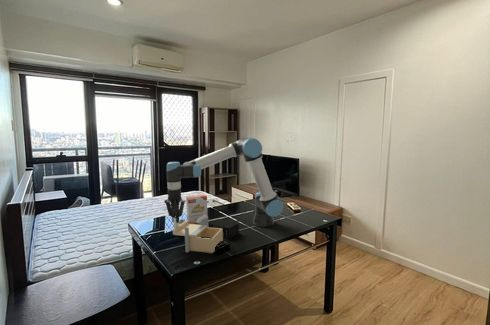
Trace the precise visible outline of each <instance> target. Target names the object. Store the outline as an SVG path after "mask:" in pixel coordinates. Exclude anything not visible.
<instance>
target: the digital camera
mask: <svg viewBox="0 0 490 325" xmlns="http://www.w3.org/2000/svg"><path fill="white" fill-rule="evenodd" d="M222 229H223V239H224V238H225V239H228V240H229V239H231V238H234V237H235V236H237V235H239V234H240V223H238V222H235V221H234V222H233V221H232V223H228V224H227V225H223V227H222Z"/></svg>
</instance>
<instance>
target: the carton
mask: <svg viewBox="0 0 490 325" xmlns="http://www.w3.org/2000/svg"><path fill="white" fill-rule="evenodd" d="M200 225H207V227H206V228H205V229H204V230H203V231H202V232H201V233H200V234H198V235H197V236H196V237H190V236H189V228H185V236H184V244H185V248H184V249H185V250H184V251H185V253H189V252H190V251H191V252H198V253H200V252H201V253H205V254H207V253H208V254H214V253H215V252H216V250H215V247H216V245H217V244H218V243H219V242H220V241H223V242H224V232H223V228H220V227H219V228H218V227H209V216H208V215H207V217H206V218H205V219H203V220H202V221H201V222H200ZM201 237H210V238H212V239H210V238H201Z"/></svg>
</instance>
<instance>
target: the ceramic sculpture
mask: <svg viewBox="0 0 490 325" xmlns="http://www.w3.org/2000/svg"><path fill="white" fill-rule="evenodd" d="M185 221H186V220H184V219H179V222H178V226H179V225H180V224H182V223H183V222H185Z"/></svg>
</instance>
